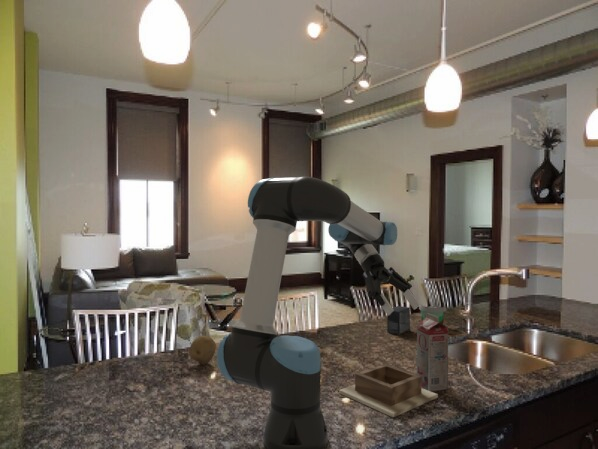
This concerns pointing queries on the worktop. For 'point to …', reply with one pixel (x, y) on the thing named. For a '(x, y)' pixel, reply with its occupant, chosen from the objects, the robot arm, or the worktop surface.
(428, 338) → the juice carton
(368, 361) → the worktop surface
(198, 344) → the natural sponge
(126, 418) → the worktop surface
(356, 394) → the birch collar board
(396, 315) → the small box
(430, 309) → the food container
